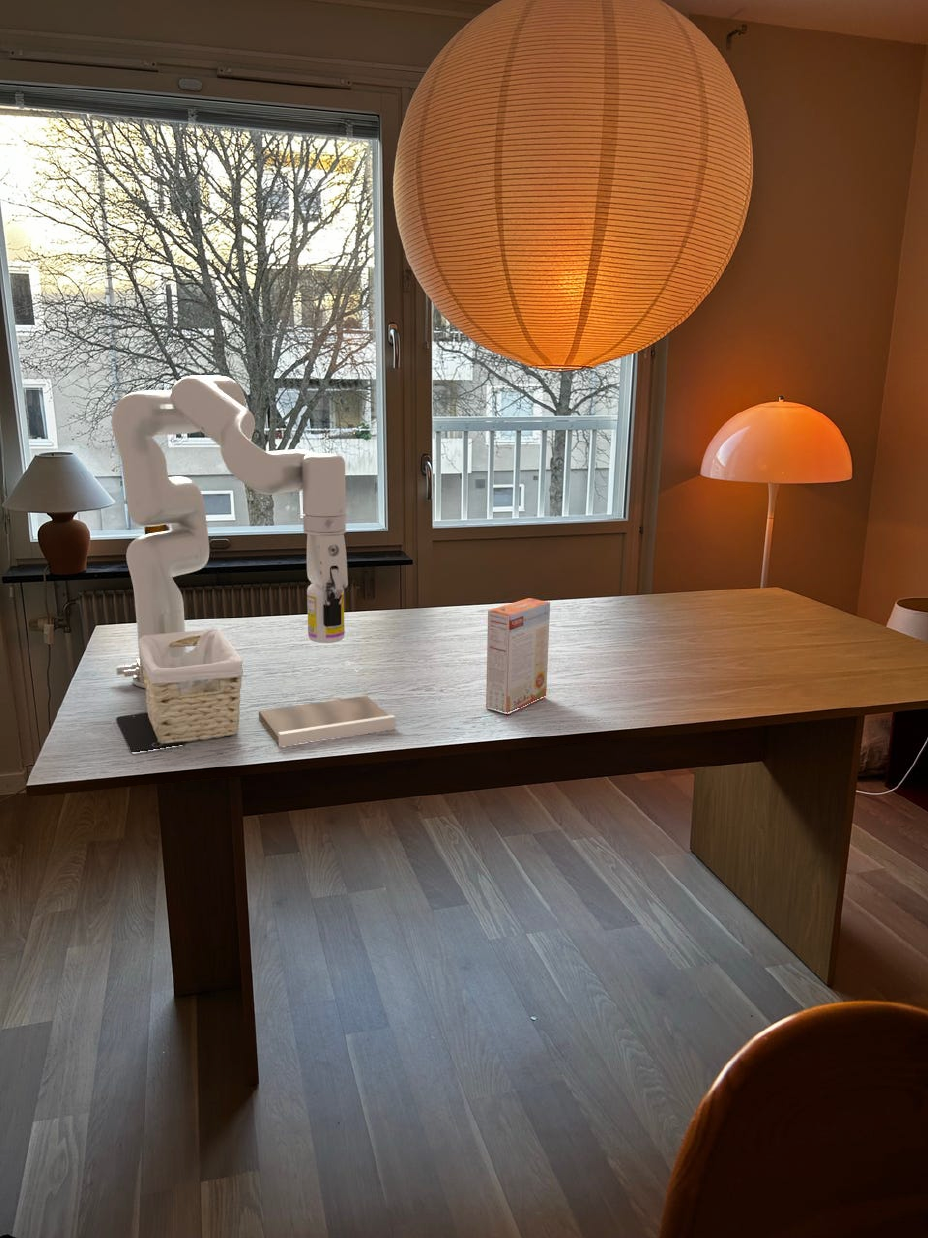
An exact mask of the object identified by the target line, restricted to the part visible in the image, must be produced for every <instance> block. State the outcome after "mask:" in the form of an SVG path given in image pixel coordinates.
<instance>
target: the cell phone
mask: <svg viewBox="0 0 928 1238" xmlns="http://www.w3.org/2000/svg"><path fill="white" fill-rule="evenodd" d="M115 721H116V723H117V725H118V727H119V729H120V732H121V733H123V734H122V736H123V735H124V736H123V738H124V737H125V738H124V740H125V739H126V740H125V742H126V741H127V742H126V744H127V743H128V745H129V747H130V749H129V750H131V751H130V753H131V752H140V751H148V750H153V749H160V748H166V747H172V746H179V745H183V744H184V745H185V742H183V741H181V742H173V743H163V744H162V743H159V741H157V740H158V738H157V736H156V734H155V732H154V730H153V727H152V724H151V722H150V720H149V717H148V711H147V712H141V713H132V714H127V715H120V716H117V717H116V719H115ZM128 745H127V746H128ZM129 747H128V748H129Z"/></svg>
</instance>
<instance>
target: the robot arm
mask: <svg viewBox="0 0 928 1238" xmlns="http://www.w3.org/2000/svg"><path fill="white" fill-rule="evenodd" d="M245 406H246V397H245V394H244V390H243V389H242V387H241V385H239V383H238V382H237V381H236V380H233V379H232V378H230V377H228V376H224V375H223V376H222V375H190V376H185V377H182V378H181V379H179V380H177V382H175V383H174V385H173V386H172V388H171V390H140V391H136V392H131V393H128V394H125V395H124V396H122V397H121V398H120V399H119V400H117V402H116V404H115V405H114V407H113V410H112V415H111V429H112V434H113V437H114V440H115V443H116V446H117V449H118V453H119V455H120V461H121V466H122V467H121V468H122V477H123V484H124V489H125V497H126V504H127V510H128V515H129V517H130V519H131V521H132V522H133V523H134V524H135V525H137V526H139V527H147V528H149V527H151V528H152V527H159V526H164V525H171V530H165V531H163V530H162V531H157V532H152V533H147V534H144V535H141V536H138V537H137V538H135V539H134V540H132V541H131V542H130V543H129V544H128V547H127V549H126V553H125V557H126V564H127V567H128V570H129V575H130V578H131V583H132V586H133V587H132V588H133V593H134V594H133V596H134V607H135V615H136V616H135V617H136V619H135V620H136V630H137V645H138V648H139V639H140V638H142V637H143V636H145V635H156V634H166V633H175V632H186V627H185V625H186V624H185V609H184V607H185V606H184V598H183V594H182V591H181V590H180V589H179V587H178V585H177V584H176V583H175V581H174V579H173V578H175V577H177V576H181V575H187V574H191V573H194V572H197V571H200V570H201V569H203V568H204V567H205V566H207V563H208V561H209V556H210V542H209V541H210V540H209V532H208V523H207V522H208V521H207V517H206V516H207V515H206V508H205V507H206V506H205V501H204V497H203V494H202V492H201V489H200V488H199V486H198V485H197V484H196V483H195V481H193V480H192V479H190V478H188V477H185V476H169V473H168V467H167V466H168V465H167V458H166V456H165V453H164V451H163V448H161V446H160V444H159V443H158V442H157V440H155V439H154V436H164V435H165V436H167V435H168V436H170V435H187V434H194V433H199V432H201V433H202V434H204V435H205V436H206V437H208V439H210V440H211V441H213V442H214V443H215V444H217V445H218V446H219V447H220V454H221V458H222V459H223V462H224V464H225V466H226V468H227V470H228V471H229V472H230V474H232V475H233V476H234V477H235V478H236V479H238V480H239V482H241V483H243V484H244V485H245V486H247V487H248V488H250V489H251V490H252V491H255V492H257V493H258V494H261V495H268V496H274V495H279V494H280V495H281V494H287V493H296V492H302V519H303V522H302V524H303V525H302V526H303V530H302V531H303V533H304V534H306V535H307V536H306V537H307V538H306V573H307V579H308V580H309V583H310V585H311V584H313V582H315V584H316V586H318V587H319V588H321V589H323V592H324V599H325V605H323V623H324V626H326V627H328V626H338V625H341V604H342V600H341V597H342V595H341V594H342V592H343V589H346V588H347V587H348V585H349V583H348V582H349V581H348V578H349V577H348V562H347V561H348V560H347V548H346V541H345V535H344V534H346V531H347V527H346V526H347V524H346V523H347V520H346V519H347V516H346V515H347V514H346V513H347V511H346V506H347V504H346V501H347V499H346V495H347V494H346V493H347V491H346V490H347V489H346V461H345V459H344V457H343V456H342V455H340V454H335V453H328V452H327V453H324V452H322V453H321V452H319V453H318V452H314V451H311V450H308V449H301V448H300V449H298V448H295V449H281V450H270V451H269V450H268V451H266V450H264V449H263V448H261V447H259V446H258V445H257V444H255V443H254V442H253V441H251V438H252V436H253V435H254V431H255V429H256V419H255V417H254V414H253V413H252V412H251V411H250V410H249V409H247V408H246V407H245ZM312 573H313V574H314V577H315V580H313V578H312ZM326 585H333V587H327V586H326ZM330 591H333V592H331V594H330V596H329V593H328V592H330ZM170 652H171V656H172V657H178V656H181V655H183V654H185V653H187V647H170ZM135 660H136V662H132V663H131V664H128V665H125V664H124V665H123V664H122V665H116V667H115V668H116V669H115V671H116V676H122V675H124V678H126V677H132V682H133V684H134V685H135V686H136V687H139V688H143V689H145V684H144V677H143V669H144V668H143V663H142V658H141V656H140V653H139V652H138V658H136V659H135Z"/></svg>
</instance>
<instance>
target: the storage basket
mask: <svg viewBox="0 0 928 1238" xmlns="http://www.w3.org/2000/svg"><path fill="white" fill-rule="evenodd" d="M170 647H186V648H187V647H195V648H194V649H192V650H190V651H186V653H185V654H183V655H181V656H178V657H172V656H171V652H170ZM139 653H140V656H141V658H142V663H143V668H144V669H143V677H144V684H145V688H144V689H145V698H146V700H145V704H146V709H147V712H148V717H149V720H150V722H151V724H152V727H153V730H154V732H155V734H156V736H157V738H158V740H157V741H159V743H162V744H163V743H173V742H181V741H183V742H184V743H185V742H194V741H198V740H203V741H204V740H211V739H213V738H217V739H218V738H223V737H227V736H228V737H229V736H234V735H236V734H237V733H238V732H239V730H240V729H239V725H240V714H241V712H240V708H241V707H240V704H241V689H242V681H243V674H244V668H243V660H242V658H241V657H240V655H239V653H238V652H237V651H236V649H235V648H234V646H233V645H232V643H230V641H229V640H228V638H227V637H226V635H225V634H224V633H223V631H221V630H220V629H219V628H212V629H211V628H210V629H200V630H198V629H197V630H189V631H188V630H187V631H186V630H185V632H175V633H166V634H156V635H145V636H143V637H142V638H140V639H139V647H138V654H139Z"/></svg>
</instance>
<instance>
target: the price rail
mask: <svg viewBox="0 0 928 1238" xmlns="http://www.w3.org/2000/svg"><path fill="white" fill-rule="evenodd" d="M387 715H388V716H382V717H375V718H369V719H362V720H356V721H349V722H342V723H336V724H329V725H323V726H316V727H310V728H303V729H297V730H290V731H284V732H278V737H279V745H280V746H279V745H278V746H279V748H280V747H282V748H284V747H283V746H289V745H294V744H299V743H305V742H310V741H316V740H322V739H330V738H337V737H345V738H350V737H349V736H351V737H356V736H355V735H357V736H362V735H369V734H368V733H370V734H375V732H376V733H380V731H382V732H386V731H385V730H388V731H393V730H392V729H394V730H396V716H395V715H394V714H387ZM289 747H290V746H289Z"/></svg>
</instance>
